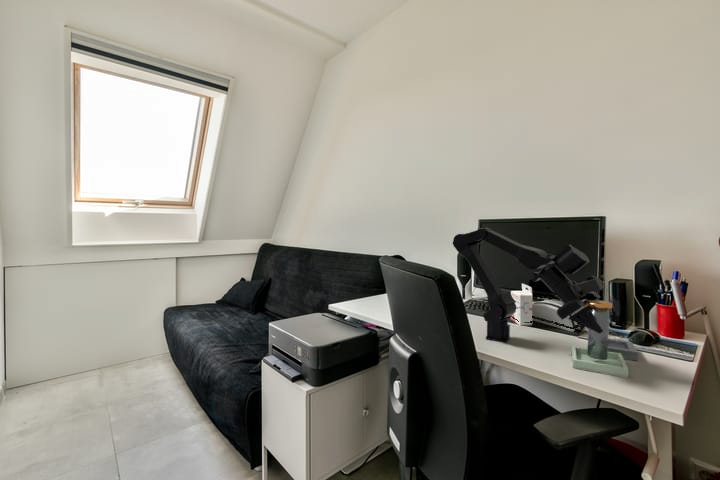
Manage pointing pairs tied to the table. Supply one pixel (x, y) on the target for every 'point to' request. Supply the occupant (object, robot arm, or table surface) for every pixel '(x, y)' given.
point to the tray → (599, 363)
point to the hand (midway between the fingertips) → (604, 330)
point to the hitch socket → (623, 349)
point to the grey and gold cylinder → (600, 340)
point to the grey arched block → (551, 315)
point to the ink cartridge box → (523, 305)
